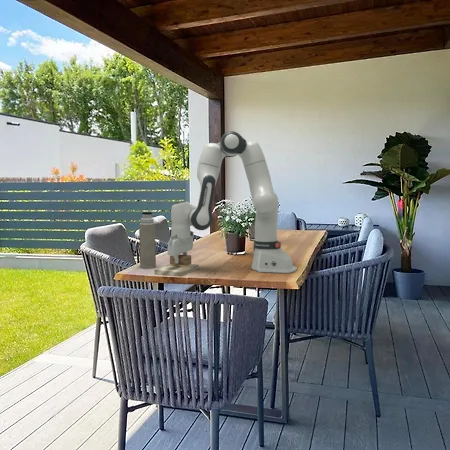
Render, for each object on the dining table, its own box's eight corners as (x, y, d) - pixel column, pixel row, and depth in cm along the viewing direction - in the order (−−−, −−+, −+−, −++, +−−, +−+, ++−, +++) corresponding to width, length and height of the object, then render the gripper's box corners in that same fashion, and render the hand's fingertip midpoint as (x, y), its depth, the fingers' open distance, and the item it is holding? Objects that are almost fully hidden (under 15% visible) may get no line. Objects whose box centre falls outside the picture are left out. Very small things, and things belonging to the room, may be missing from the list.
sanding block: (191, 265, 224) (191, 255, 223) (186, 267, 219) (186, 257, 218) (175, 264, 227) (175, 254, 227) (169, 266, 222) (169, 256, 222)
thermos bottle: (138, 268, 226) (137, 212, 223) (141, 265, 234) (140, 211, 231) (154, 268, 226) (153, 212, 223) (157, 265, 234) (156, 211, 231)
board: (198, 268, 226) (198, 264, 225) (181, 276, 208) (180, 272, 208) (173, 266, 231) (173, 262, 231) (154, 274, 213) (154, 269, 213)
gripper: (175, 237, 210) (176, 266, 212) (195, 232, 229) (195, 258, 231) (163, 236, 213) (164, 265, 214) (184, 231, 232) (184, 258, 233)
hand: (180, 261), depth 223 cm, fingers closed on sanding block, 5 cm apart
